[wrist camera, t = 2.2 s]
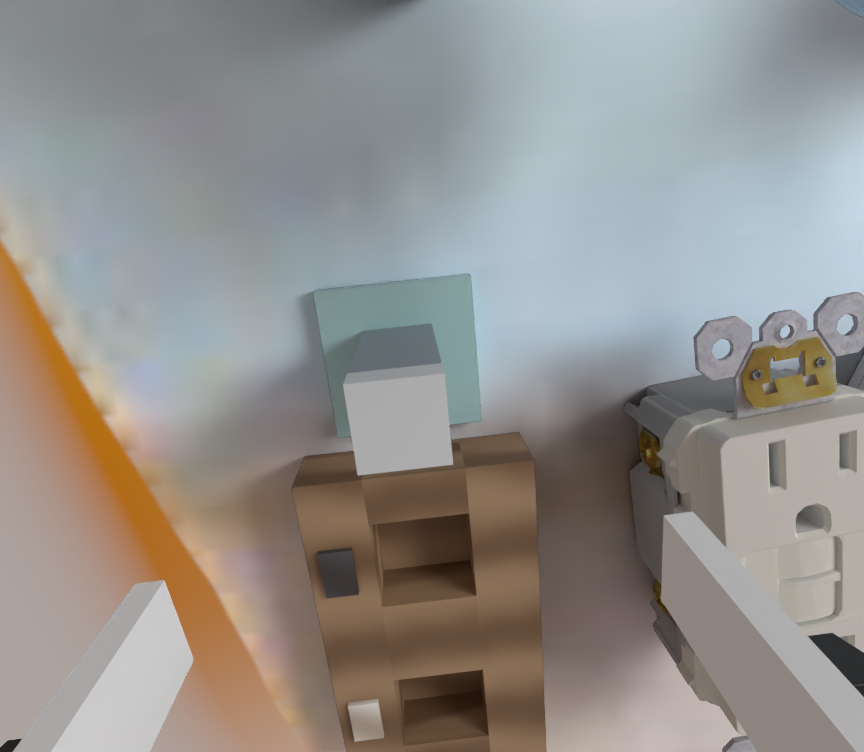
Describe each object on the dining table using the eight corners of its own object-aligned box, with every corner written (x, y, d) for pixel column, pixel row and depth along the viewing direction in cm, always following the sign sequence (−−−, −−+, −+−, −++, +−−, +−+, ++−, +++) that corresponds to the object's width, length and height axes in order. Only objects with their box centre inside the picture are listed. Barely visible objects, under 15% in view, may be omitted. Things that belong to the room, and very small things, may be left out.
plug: (363, 330, 29) (342, 384, 20) (431, 323, 29) (444, 373, 20) (372, 395, 30) (357, 475, 21) (438, 387, 30) (453, 464, 21)
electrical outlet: (640, 674, 39) (716, 815, 29) (598, 312, 32) (680, 336, 22) (789, 646, 39) (917, 777, 29) (780, 276, 32) (941, 285, 22)
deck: (315, 290, 29) (313, 292, 28) (468, 273, 29) (470, 275, 28) (339, 430, 32) (337, 437, 31) (479, 415, 32) (481, 421, 31)
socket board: (304, 456, 32) (290, 490, 28) (519, 432, 33) (535, 462, 29) (358, 729, 40) (352, 788, 35) (533, 707, 40) (547, 763, 36)
